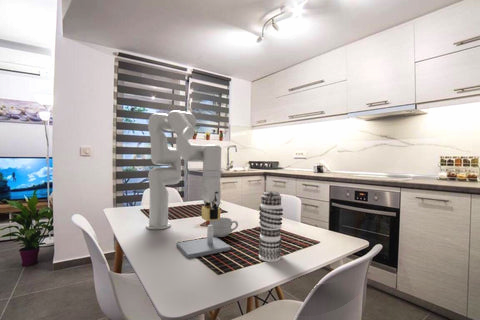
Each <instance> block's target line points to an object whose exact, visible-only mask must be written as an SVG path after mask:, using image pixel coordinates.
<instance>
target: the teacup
mask: <svg viewBox="0 0 480 320" xmlns="http://www.w3.org/2000/svg"><path fill="white" fill-rule="evenodd" d="M233 224H235V227H233V228H232V226H233ZM209 225H213V237H217V238H222V237H223V238H225V237H227V236H229V234H231V233H232V232H233V231H235V230H236V229H237V228H238V226H239V223H238V221H237V220H232V218H229V217H221V216H220V220H212V221H209Z"/></svg>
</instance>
